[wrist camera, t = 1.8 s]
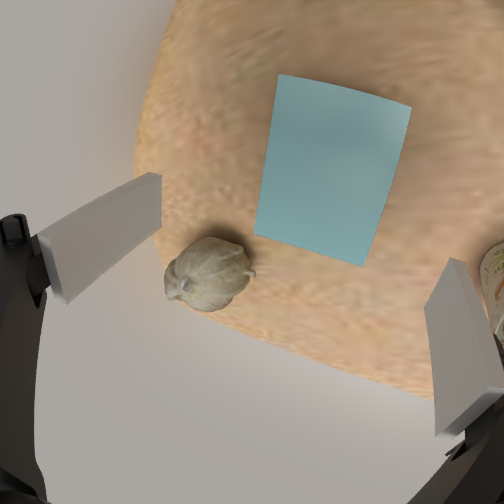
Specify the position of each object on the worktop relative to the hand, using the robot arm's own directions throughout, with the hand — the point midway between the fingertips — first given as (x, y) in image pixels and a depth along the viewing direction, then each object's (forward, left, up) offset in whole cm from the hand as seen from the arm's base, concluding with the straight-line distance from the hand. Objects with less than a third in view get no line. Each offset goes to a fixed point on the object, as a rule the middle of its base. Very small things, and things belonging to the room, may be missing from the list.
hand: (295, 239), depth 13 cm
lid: (0, 0, -13) cm, 13 cm away
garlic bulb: (+14, -9, -17) cm, 24 cm away
